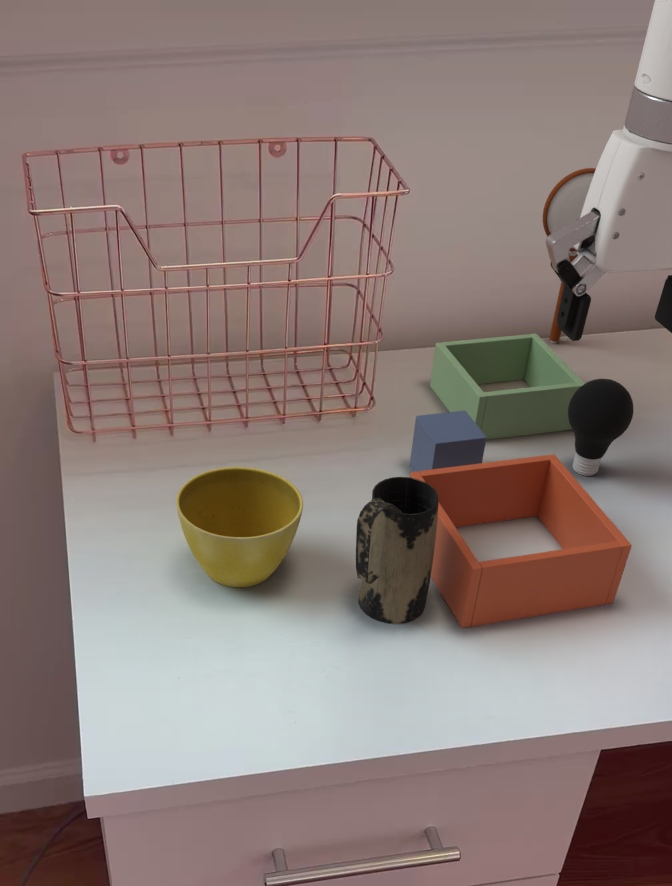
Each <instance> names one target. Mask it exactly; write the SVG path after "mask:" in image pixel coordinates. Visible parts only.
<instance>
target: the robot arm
mask: <svg viewBox="0 0 672 886" xmlns="http://www.w3.org/2000/svg"><path fill="white" fill-rule="evenodd" d="M638 63H639V64H638V67H637V72H636V76H635V79H634V84H633V87H632V92H631V95H630V98H629V103H628V107H627V111H626V116H625V119H624V124H623V127H622V129H614V130H613V131H612V132H611V135H610V136H609V139H608V140H607V142H606V145H605V147H604V149H603V151H602V153H601V156H600V158H599V160H598V162H597V165H596V167H595V168H596V170H595V173H594V176H593V179H592V181H591V184H590V187H589V190H588V193H587V196H586V200H585V203H584V206H583V209H582V213H581V216H580V218H579V219H577V220H576V221H574V222H572V223H570V224H568V225H567V226H565V227H563V228H561V229H559V230H558V231H556V232H554V233H552V234H550V235H549V236H548V237H547V236H546V239H545V245H546V249H547V254H548V257H549V260H550V267H551V269H552V270H553V271H554V273H555V275H557V277H558V278H559V280H560V283H561V282H562V283H563V284H564V285H565V286H564V290H563V294H562V298H561V303H560V307H559V311H558V315H557V322H558V328H559V329H560V330H561V333H563V334H564V335H565V336H566V337H567V338H568V339H569V340H570V341H572V342H576V341H577V342H578V341H580V340H581V339H582V337H583V334H584V330H585V326H586V321H587V318H588V314H589V311H590V306H591V303H592V297H591V295H589V294H588V293H587V292H589V290H590V289H591V288H592V287H593V286H594V285H595V284H596V283H597V282H598V281H599V280H600V279H601V278H602V277H603V276H604V275H605V274H606V273H611V274H612V273H613V274H615V273H637V272H652V271H670V270H672V0H654V2H653V7H652V11H651V14H650V18H649V23H648V27H647V30H646V34H645V39H644V43H643V47H642V51H641V55H640V59H639V62H638ZM572 246H574V248H575V250H576V251H577V253H579V254H578V256H577V257H576V258H575V259H574V260H573V261H572V262H571V263H570V259H569V257H570V256H569V253H570V251H569V250H570V249H571V247H572ZM654 320H655V321H656V322H658V323H659V324H660V325H661V326H662V327H663V328H664V329H666V330H667V331H668V332H669V333H670V334H672V274H670V275H669V274H668V275H667V278H666V279H665V281H664V284H663V288H662V291H661V294H660V297H659V301H658V304H657V307H656V311H655V314H654Z"/></svg>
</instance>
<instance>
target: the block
mask: <svg viewBox="0 0 672 886" xmlns="http://www.w3.org/2000/svg"><path fill="white" fill-rule="evenodd" d="M486 443H487V440H486V436H485V435H484V434H483V432H482V431H481V430H480V428H479V427H478V426H477V425H476V423H475V422H474V421H473V419H472V418H471V417H470V416H469V414H468V413H467V412H466V411H465V410H464V411H455V412H449V411H448V412H438V413H427V414H420V415H416V416H415V421H414V429H413V436H412V444H411V450H410V451H411V452H410V457H409V467H410V468H411V470H412V472H417V471H418V472H419V471H424V470H432V469H440V468H448V467H456V466H464V465H472V464H480V463H483V460H484V454H485V449H486Z"/></svg>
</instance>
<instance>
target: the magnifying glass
mask: <svg viewBox="0 0 672 886" xmlns="http://www.w3.org/2000/svg"><path fill="white" fill-rule="evenodd" d="M596 168H597V167H595V168H594V167H585V168H581V169H578V170H575V171H573V172H571V173H569V174H567V175H566V176H565V177H563V178H562V179H561V180H560V181H558V182H557V183H556V184H555V186H554V187H553V188H552V190H551V191H550V192H549V194H548V196H547V198H546V200H545V203H544V207H543V210H542V226H543V230H544V232H545V233H544V234H545V235H546V238H547V237H548V236H549V235H550V234H552V233H554V232H556V231H558V230H559V229H561V228H563V227H565V226H567V225H568V224H570V223H572V222H574V221H576V220H577V219H579V218H580V216H581V213H582V209H583V206H584V203H585V200H586V196H587V193H588V190H589V187H590V184H591V181H592V179H593V176H594V173H595V170H596ZM578 255H579V254H578V252H577V251H576V250H575V248H574V246H572V247H571V249H570V250H569V256H570V257H569V259H570V263H571V262H572V261H573V260H574V259H575V258H576V257H577V256H578ZM564 286H565V285H564V284H563V283H562V282H561V281H560V286H559V291H558V296H557V301H556V305H555V310H554V314H553V319H552V323H551V328H550V333H549V337H548V339H549V341H550V343H551V344H555V345H556V344H557V343H558V342H560V339H561V335H562V331H561V330H560V329H559V328H558V322H557V315H558V311H559V307H560V303H561V298H562V294H563V290H564Z"/></svg>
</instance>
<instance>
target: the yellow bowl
mask: <svg viewBox="0 0 672 886" xmlns="http://www.w3.org/2000/svg"><path fill="white" fill-rule="evenodd" d="M175 507H176V511H177V515H178V520H179V523H180V527H181V530H182V532H183V533H182V534H183V536H184V538H185V541H186V543H187V545H188V547H189V550H190V552H191V553H192V556H193V557H194V558H195V560H196V562H197V563H198V565H199V566H200V567H201V569H202V570H203V571H204V572H205V574H206V575H207V576H208V577H209V578H210V579H211V580H212V581H214V582H215V583H217V584H220V585H222V586H225V587H230V588H247V587H248V588H250V587H254V586H257V585H259V584H261V583H263V582H265V581H266V580H267V579H269V578H270V576H272V574H273V573H274V572H275V571H276V570H277V568H279V565H280V564H282V562H283V560H284V558H285V556H286V555H287V553H288V551H289V550H290V548H291V545H292V543H293V541H294V539H295V537H296V534H297V531H298V529H299V525H300V522H301V518H302V516H303V515H302V514H303V510H304V500H303V496H302V494H301V492H300V490H299V488H297V487H296V486H295V485H294V483H292V482H291V481H290V480H288V479H287V478H285V477H283V476H282V475H281V476H280V475H278V474H277V473H274V472H272V471H268V470H265V469H261V468H256V467H247V466H226V467H219V468H214V469H210V470H207V471H203V472H201V473H199V474H196V475H195V476H193V477H191V478H190V479H188V480H187V481H186V482H185V483H184V484H183V485H182V486H181V487H180V489H179V490H178V492H177V495H176V498H175Z"/></svg>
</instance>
